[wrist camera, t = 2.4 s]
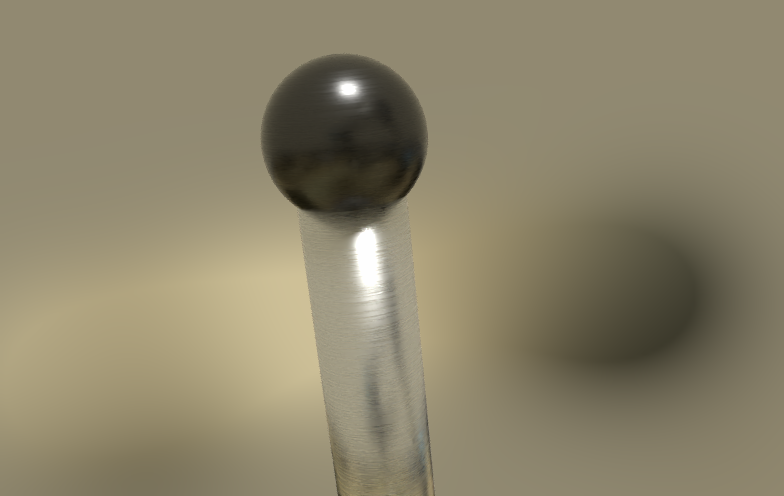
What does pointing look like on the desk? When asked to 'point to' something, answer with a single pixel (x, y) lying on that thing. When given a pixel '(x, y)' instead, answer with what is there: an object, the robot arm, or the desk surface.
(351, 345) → the plunger
